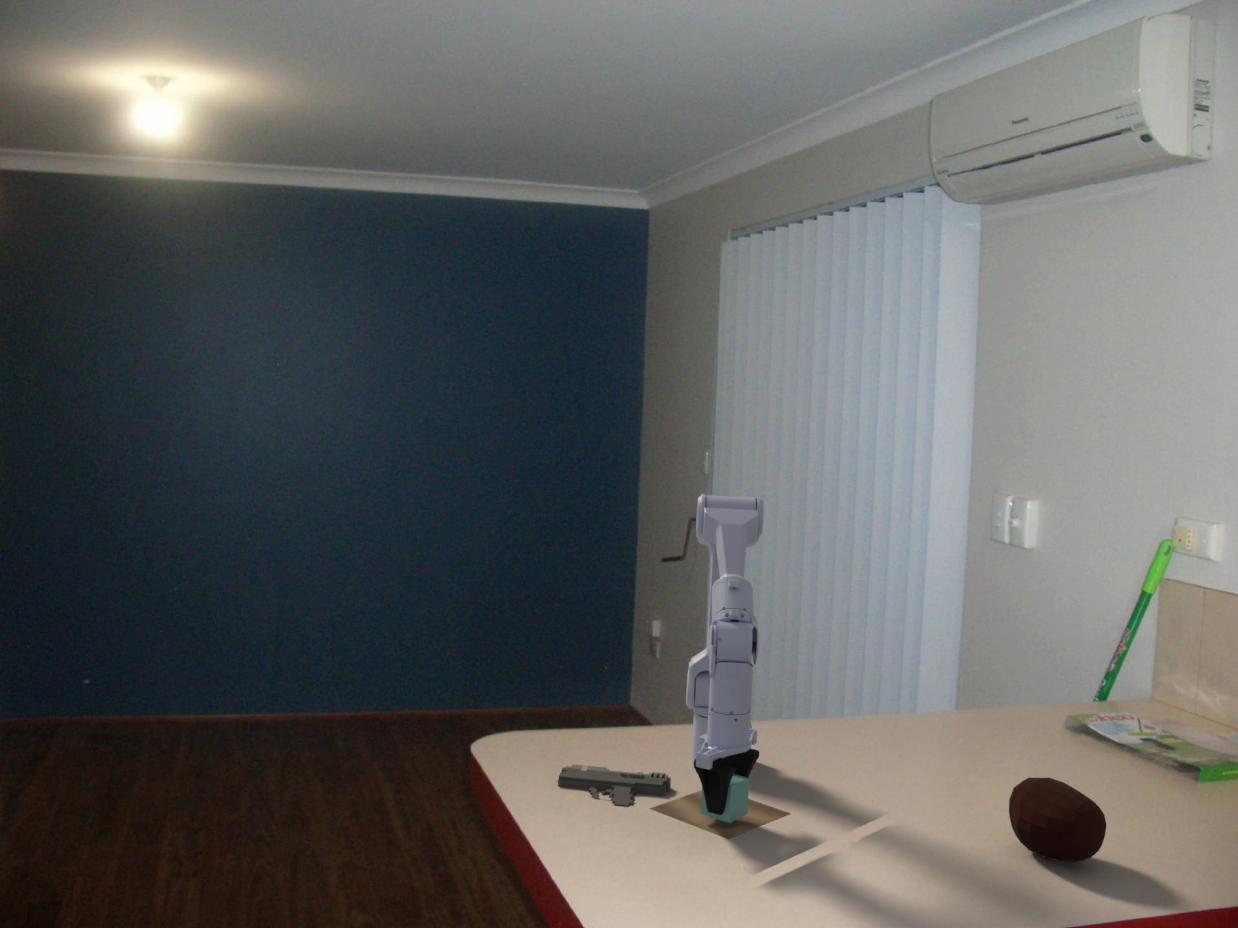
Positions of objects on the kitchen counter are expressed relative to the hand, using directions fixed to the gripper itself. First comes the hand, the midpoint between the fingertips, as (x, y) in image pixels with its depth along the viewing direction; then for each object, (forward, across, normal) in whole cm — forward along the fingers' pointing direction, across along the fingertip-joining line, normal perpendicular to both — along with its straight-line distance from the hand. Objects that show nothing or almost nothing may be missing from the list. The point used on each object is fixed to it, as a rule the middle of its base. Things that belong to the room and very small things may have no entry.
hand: (724, 806), depth 164 cm
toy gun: (+4, 0, -18) cm, 19 cm away
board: (+3, -4, -2) cm, 5 cm away
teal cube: (+1, 0, 0) cm, 1 cm away
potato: (+3, -18, +40) cm, 44 cm away
